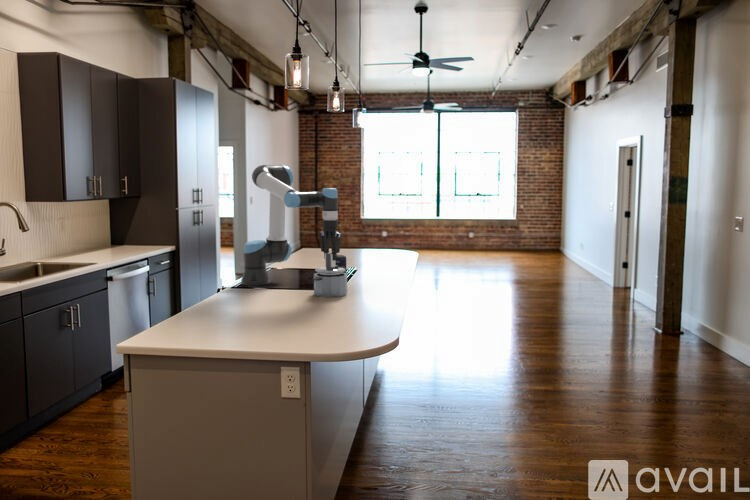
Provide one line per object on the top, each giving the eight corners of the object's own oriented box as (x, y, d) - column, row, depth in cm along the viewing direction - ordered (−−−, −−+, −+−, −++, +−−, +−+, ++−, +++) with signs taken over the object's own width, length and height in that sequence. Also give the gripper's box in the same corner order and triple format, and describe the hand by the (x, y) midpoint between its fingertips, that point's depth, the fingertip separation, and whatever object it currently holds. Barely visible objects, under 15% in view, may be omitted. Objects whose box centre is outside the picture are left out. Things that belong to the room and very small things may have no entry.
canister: (347, 285, 326) (347, 252, 323) (345, 289, 316) (345, 255, 314) (330, 285, 327) (330, 252, 324) (327, 288, 317) (326, 254, 315)
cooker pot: (303, 295, 299) (303, 275, 298) (333, 289, 316) (333, 270, 315) (326, 299, 289) (326, 278, 288) (357, 292, 306) (357, 273, 305)
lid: (309, 274, 301) (308, 253, 299) (329, 271, 312) (329, 250, 311) (330, 278, 291) (330, 256, 290) (351, 274, 303) (351, 253, 301)
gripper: (313, 219, 300) (313, 265, 303) (336, 220, 290) (337, 268, 293) (323, 218, 306) (324, 264, 309) (347, 219, 296) (347, 267, 299)
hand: (330, 266), depth 301 cm, fingers closed on lid, 3 cm apart
